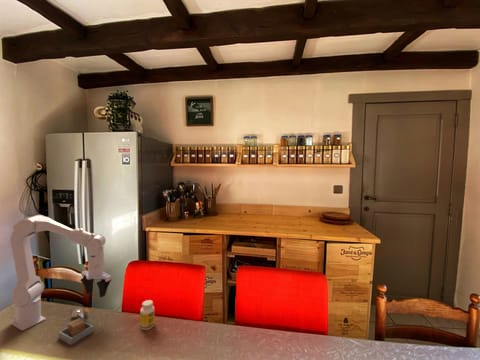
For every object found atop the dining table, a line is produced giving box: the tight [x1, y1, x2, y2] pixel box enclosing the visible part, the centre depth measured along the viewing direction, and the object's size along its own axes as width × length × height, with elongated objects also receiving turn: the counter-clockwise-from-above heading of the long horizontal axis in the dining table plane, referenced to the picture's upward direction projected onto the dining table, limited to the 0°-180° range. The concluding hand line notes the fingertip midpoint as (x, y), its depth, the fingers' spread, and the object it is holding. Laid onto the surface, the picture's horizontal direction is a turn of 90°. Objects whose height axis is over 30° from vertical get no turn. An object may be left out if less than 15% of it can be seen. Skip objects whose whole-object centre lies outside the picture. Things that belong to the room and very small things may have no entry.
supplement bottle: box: [139, 299, 155, 331], centre depth 95 cm, size 5×5×10 cm
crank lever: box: [71, 307, 90, 322], centre depth 99 cm, size 12×4×6 cm, turn 55°
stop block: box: [67, 318, 86, 337], centre depth 89 cm, size 4×4×4 cm
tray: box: [58, 321, 94, 347], centre depth 89 cm, size 8×8×2 cm
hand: (96, 294), depth 101 cm, fingers open, 7 cm apart
